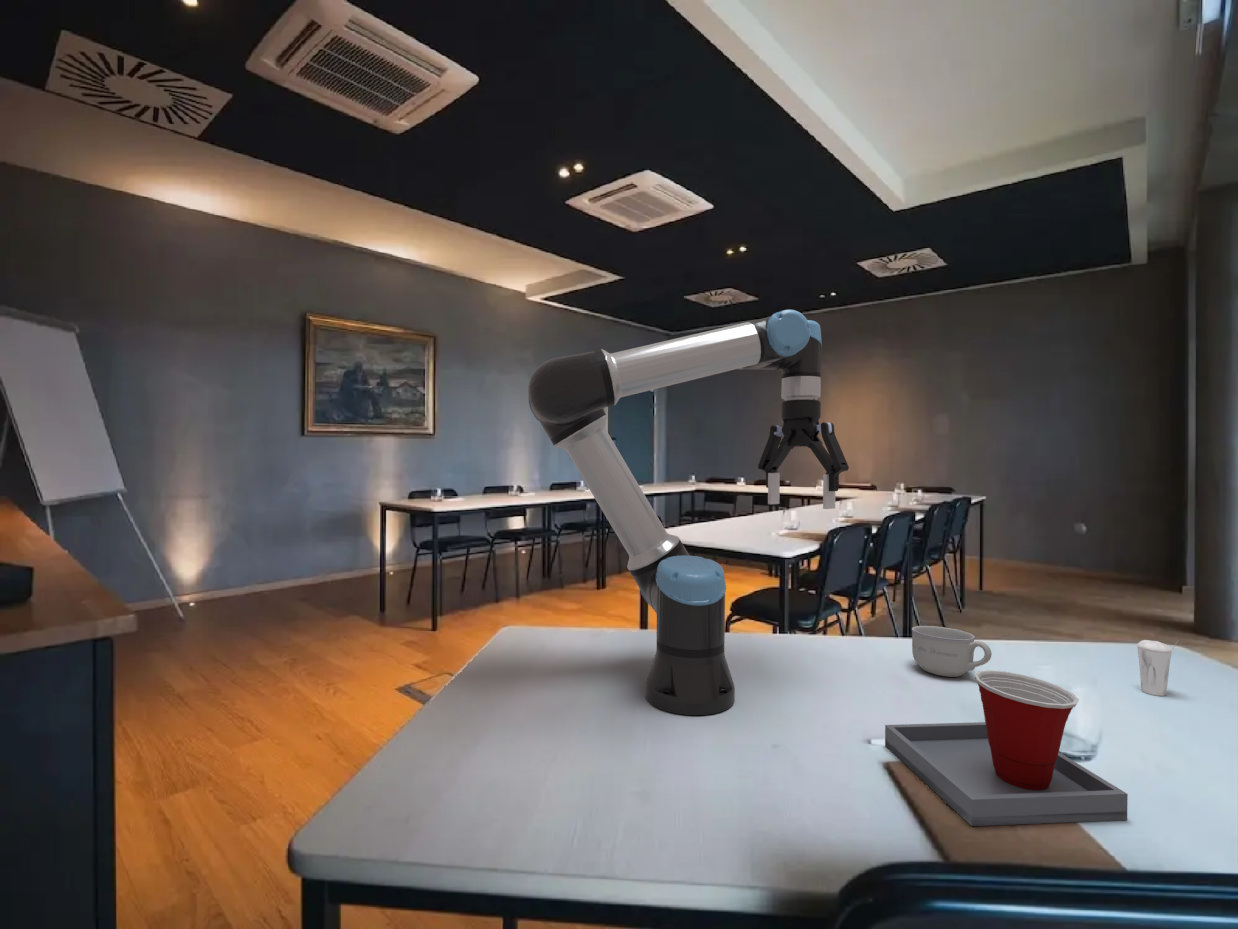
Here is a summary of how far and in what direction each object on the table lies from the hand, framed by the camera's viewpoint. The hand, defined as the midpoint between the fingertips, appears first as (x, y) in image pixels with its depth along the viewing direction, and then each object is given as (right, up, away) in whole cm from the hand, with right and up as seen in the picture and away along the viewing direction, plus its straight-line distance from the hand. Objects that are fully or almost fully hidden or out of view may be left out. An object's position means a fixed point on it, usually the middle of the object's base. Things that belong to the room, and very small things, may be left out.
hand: (800, 506), depth 118 cm
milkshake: (+59, -32, -14) cm, 69 cm away
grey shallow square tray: (+12, -32, -42) cm, 54 cm away
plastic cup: (+15, -31, -44) cm, 56 cm away
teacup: (+27, -32, -5) cm, 42 cm away
